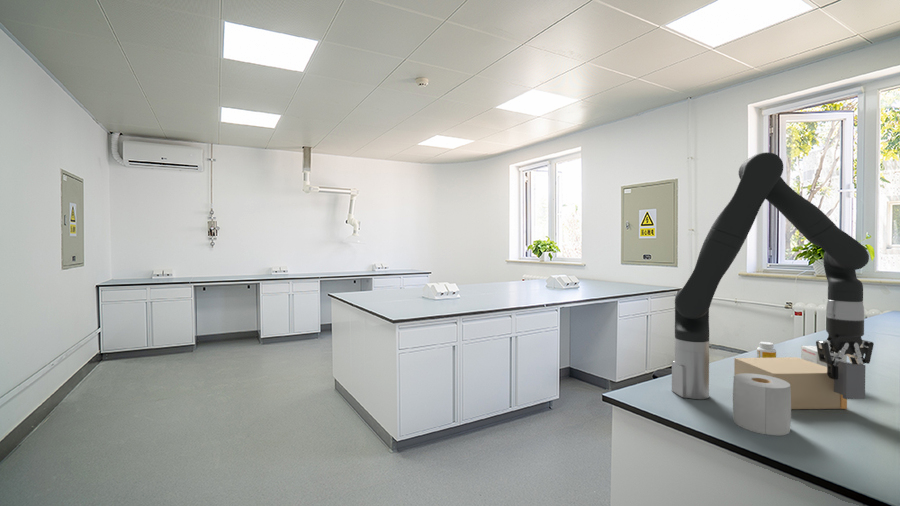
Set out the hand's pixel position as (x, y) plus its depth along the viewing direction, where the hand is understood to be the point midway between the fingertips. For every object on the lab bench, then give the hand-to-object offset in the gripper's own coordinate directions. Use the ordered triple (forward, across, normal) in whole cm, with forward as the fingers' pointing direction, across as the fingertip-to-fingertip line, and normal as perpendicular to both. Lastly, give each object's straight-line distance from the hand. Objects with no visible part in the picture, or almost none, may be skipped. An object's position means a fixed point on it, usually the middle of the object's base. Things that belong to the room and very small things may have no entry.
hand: (844, 378), depth 114 cm
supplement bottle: (+10, +7, +37) cm, 39 cm away
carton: (+9, -7, +11) cm, 16 cm away
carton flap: (+9, -7, 0) cm, 12 cm away
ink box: (+10, +15, +23) cm, 29 cm away
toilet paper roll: (+10, -28, -7) cm, 30 cm away
